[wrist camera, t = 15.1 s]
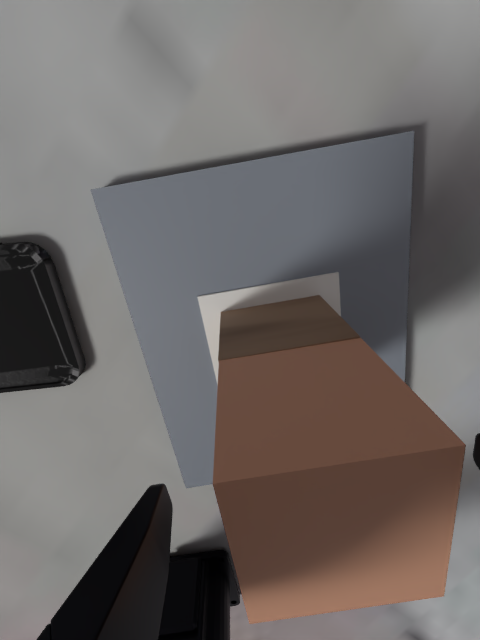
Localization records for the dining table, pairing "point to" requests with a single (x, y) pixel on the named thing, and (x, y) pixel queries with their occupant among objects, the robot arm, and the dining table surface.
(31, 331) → the phone
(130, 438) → the dining table surface
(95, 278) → the dining table surface
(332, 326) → the walnut cube
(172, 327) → the board
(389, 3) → the dining table surface
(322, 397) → the terracotta cube
